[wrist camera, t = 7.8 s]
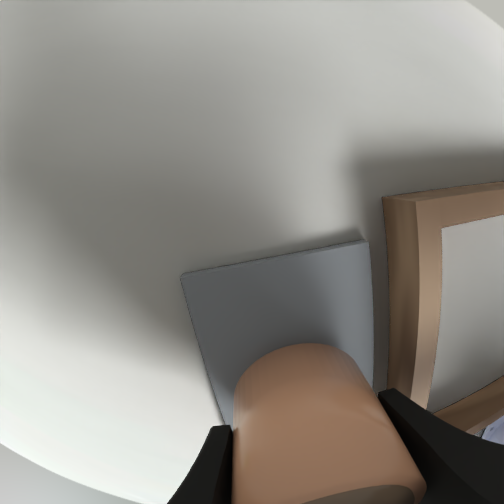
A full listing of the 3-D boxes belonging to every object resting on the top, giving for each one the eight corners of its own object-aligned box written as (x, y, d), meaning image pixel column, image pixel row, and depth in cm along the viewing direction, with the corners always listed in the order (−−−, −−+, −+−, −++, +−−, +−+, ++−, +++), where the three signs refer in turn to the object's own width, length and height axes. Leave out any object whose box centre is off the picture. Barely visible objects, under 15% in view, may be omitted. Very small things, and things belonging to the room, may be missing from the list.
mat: (365, 433, 13) (368, 439, 13) (241, 459, 14) (241, 466, 13) (363, 239, 11) (368, 241, 11) (183, 273, 11) (180, 277, 11)
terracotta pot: (361, 423, 11) (429, 581, 3) (247, 447, 11) (255, 623, 3) (362, 328, 10) (503, 528, 2) (219, 357, 10) (196, 614, 2)
